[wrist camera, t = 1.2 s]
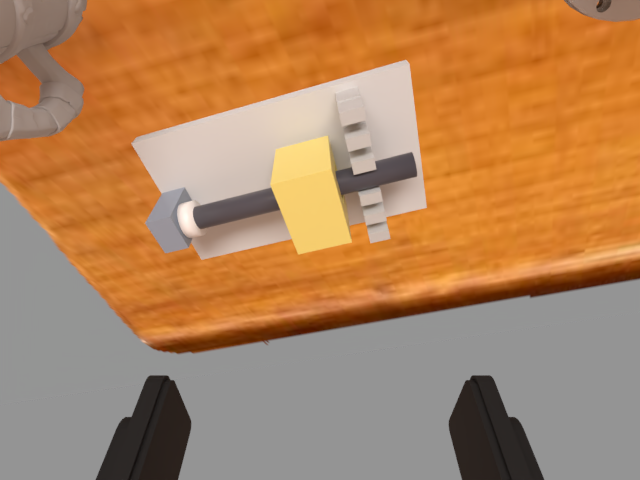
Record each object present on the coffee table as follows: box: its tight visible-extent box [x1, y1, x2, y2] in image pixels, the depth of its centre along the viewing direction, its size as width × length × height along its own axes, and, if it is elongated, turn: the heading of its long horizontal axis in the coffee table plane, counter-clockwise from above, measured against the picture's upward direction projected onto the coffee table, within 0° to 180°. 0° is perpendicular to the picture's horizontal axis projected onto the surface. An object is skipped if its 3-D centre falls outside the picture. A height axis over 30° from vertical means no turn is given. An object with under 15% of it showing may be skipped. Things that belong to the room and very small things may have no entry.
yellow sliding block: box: [270, 136, 352, 254], centre depth 28 cm, size 4×6×5 cm, turn 15°
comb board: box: [131, 60, 427, 260], centre depth 30 cm, size 21×12×6 cm, turn 105°
